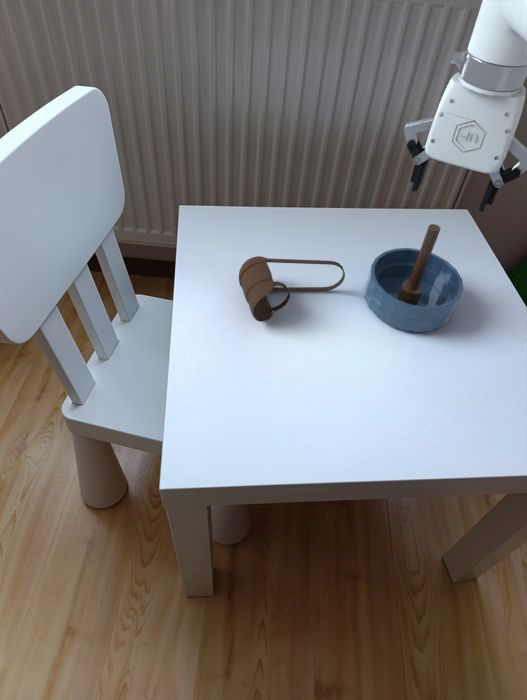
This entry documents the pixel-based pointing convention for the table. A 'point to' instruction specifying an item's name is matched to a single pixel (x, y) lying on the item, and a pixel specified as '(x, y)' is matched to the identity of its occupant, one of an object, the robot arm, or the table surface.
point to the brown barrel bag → (271, 284)
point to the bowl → (435, 299)
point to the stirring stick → (419, 268)
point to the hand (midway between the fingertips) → (448, 196)
